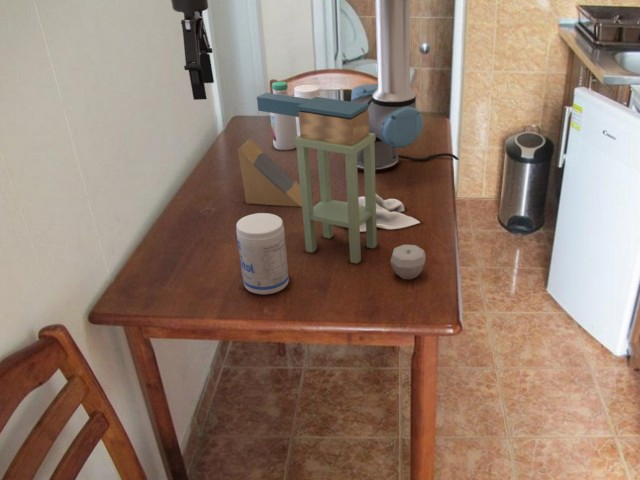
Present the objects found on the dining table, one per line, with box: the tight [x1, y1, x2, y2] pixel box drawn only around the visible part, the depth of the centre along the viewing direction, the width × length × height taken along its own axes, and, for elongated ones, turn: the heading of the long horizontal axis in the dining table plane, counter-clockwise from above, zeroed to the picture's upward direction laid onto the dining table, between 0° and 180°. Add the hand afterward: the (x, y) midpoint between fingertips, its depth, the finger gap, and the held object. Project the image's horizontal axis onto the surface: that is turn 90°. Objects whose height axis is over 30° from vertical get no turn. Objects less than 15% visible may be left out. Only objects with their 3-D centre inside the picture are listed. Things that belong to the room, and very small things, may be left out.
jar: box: [293, 84, 323, 137], centre depth 218 cm, size 12×10×15 cm
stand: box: [294, 133, 378, 265], centre depth 147 cm, size 14×10×27 cm
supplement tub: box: [235, 212, 290, 295], centre depth 137 cm, size 10×10×15 cm
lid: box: [256, 92, 369, 118], centre depth 140 cm, size 24×8×3 cm, turn 64°
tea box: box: [299, 109, 369, 146], centre depth 139 cm, size 12×8×5 cm, turn 64°
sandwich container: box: [237, 138, 302, 208], centre depth 174 cm, size 9×15×15 cm, turn 81°
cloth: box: [358, 193, 421, 233], centre depth 167 cm, size 22×19×6 cm
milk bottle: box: [269, 81, 297, 151], centre depth 206 cm, size 8×8×20 cm
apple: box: [390, 244, 427, 280], centre depth 143 cm, size 8×8×7 cm
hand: (204, 90), depth 153 cm, fingers open, 13 cm apart
